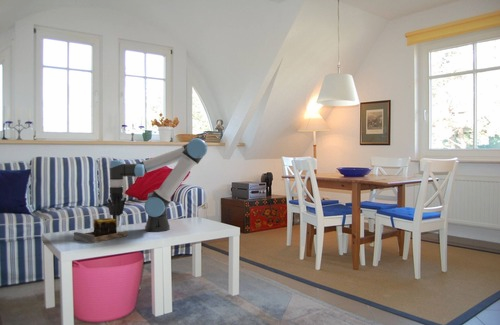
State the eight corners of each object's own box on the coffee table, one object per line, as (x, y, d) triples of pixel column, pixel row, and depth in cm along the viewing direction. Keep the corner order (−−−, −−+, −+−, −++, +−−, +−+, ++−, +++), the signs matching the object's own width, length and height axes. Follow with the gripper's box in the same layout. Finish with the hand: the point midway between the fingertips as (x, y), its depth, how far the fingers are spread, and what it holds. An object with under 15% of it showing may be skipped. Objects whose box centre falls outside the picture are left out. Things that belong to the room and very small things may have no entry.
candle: (99, 239, 219) (99, 221, 219) (92, 236, 226) (92, 219, 226) (117, 237, 225) (117, 219, 225) (110, 234, 233) (110, 217, 233)
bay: (109, 232, 238) (108, 226, 238) (126, 235, 229) (126, 229, 229) (73, 239, 219) (73, 232, 219) (92, 243, 210) (91, 235, 210)
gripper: (121, 185, 240) (121, 224, 241) (102, 186, 229) (102, 227, 230) (129, 186, 236) (129, 225, 236) (111, 187, 225) (110, 229, 226)
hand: (116, 226), depth 233 cm, fingers closed
